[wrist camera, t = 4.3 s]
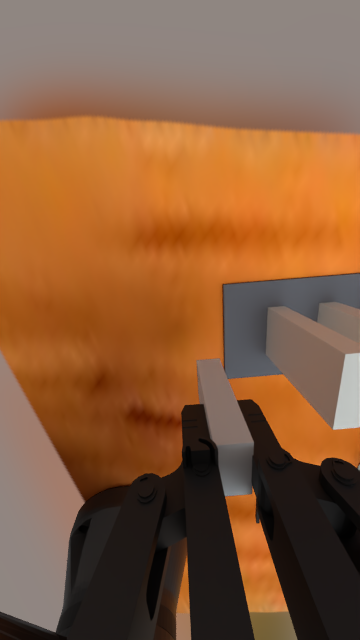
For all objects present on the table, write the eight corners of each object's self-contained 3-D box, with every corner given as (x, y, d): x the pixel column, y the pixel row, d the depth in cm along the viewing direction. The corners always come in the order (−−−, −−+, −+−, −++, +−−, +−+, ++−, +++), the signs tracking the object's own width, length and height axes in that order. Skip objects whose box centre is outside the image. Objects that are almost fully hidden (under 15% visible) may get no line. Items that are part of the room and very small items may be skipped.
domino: (265, 354, 23) (332, 429, 13) (267, 307, 21) (345, 354, 12) (281, 353, 23) (359, 427, 13) (284, 306, 21) (375, 351, 12)
